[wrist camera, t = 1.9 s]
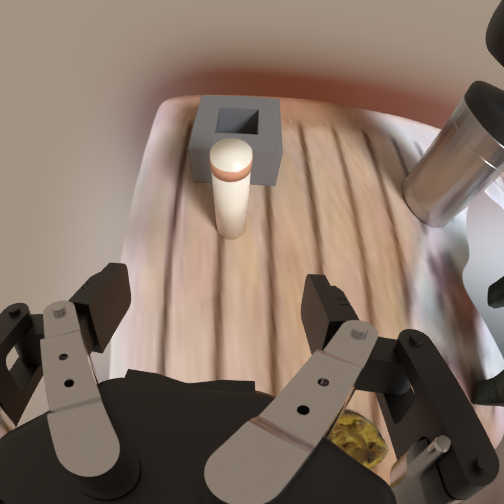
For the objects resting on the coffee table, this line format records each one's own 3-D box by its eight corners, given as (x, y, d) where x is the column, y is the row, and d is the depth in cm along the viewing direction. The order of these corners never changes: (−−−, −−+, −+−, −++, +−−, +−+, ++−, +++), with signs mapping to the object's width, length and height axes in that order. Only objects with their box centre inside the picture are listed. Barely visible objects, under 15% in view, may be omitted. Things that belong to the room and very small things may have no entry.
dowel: (236, 209, 32) (238, 132, 21) (251, 231, 31) (261, 158, 20) (211, 222, 31) (201, 147, 20) (225, 245, 30) (222, 175, 19)
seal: (386, 408, 25) (255, 404, 25) (409, 407, 21) (261, 406, 21) (376, 481, 21) (242, 485, 21) (397, 490, 17) (246, 500, 17)
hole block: (204, 127, 37) (201, 95, 32) (274, 131, 38) (279, 99, 32) (193, 182, 34) (187, 148, 28) (275, 185, 34) (282, 153, 28)
